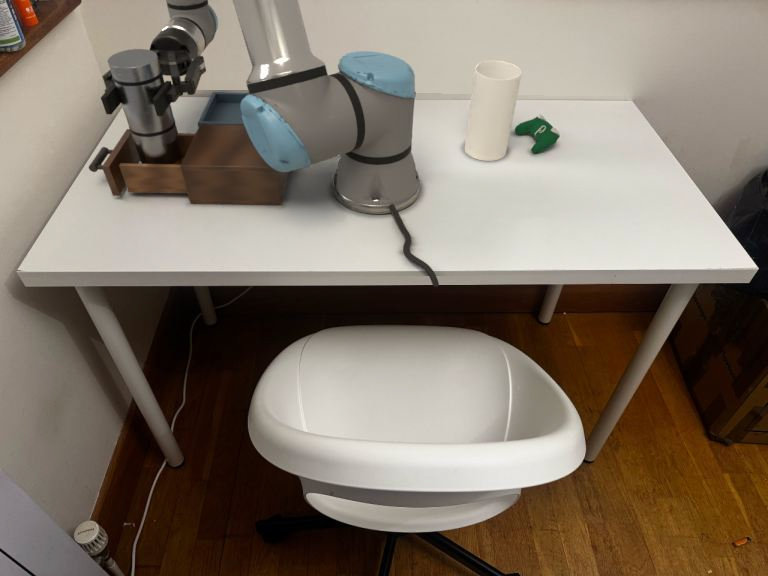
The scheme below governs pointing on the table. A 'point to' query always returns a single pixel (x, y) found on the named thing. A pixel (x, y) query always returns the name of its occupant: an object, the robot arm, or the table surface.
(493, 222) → the table surface
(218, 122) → the tray
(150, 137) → the steel travel flask
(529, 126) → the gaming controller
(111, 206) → the table surface
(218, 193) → the cabinet
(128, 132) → the drawer
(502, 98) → the cup
